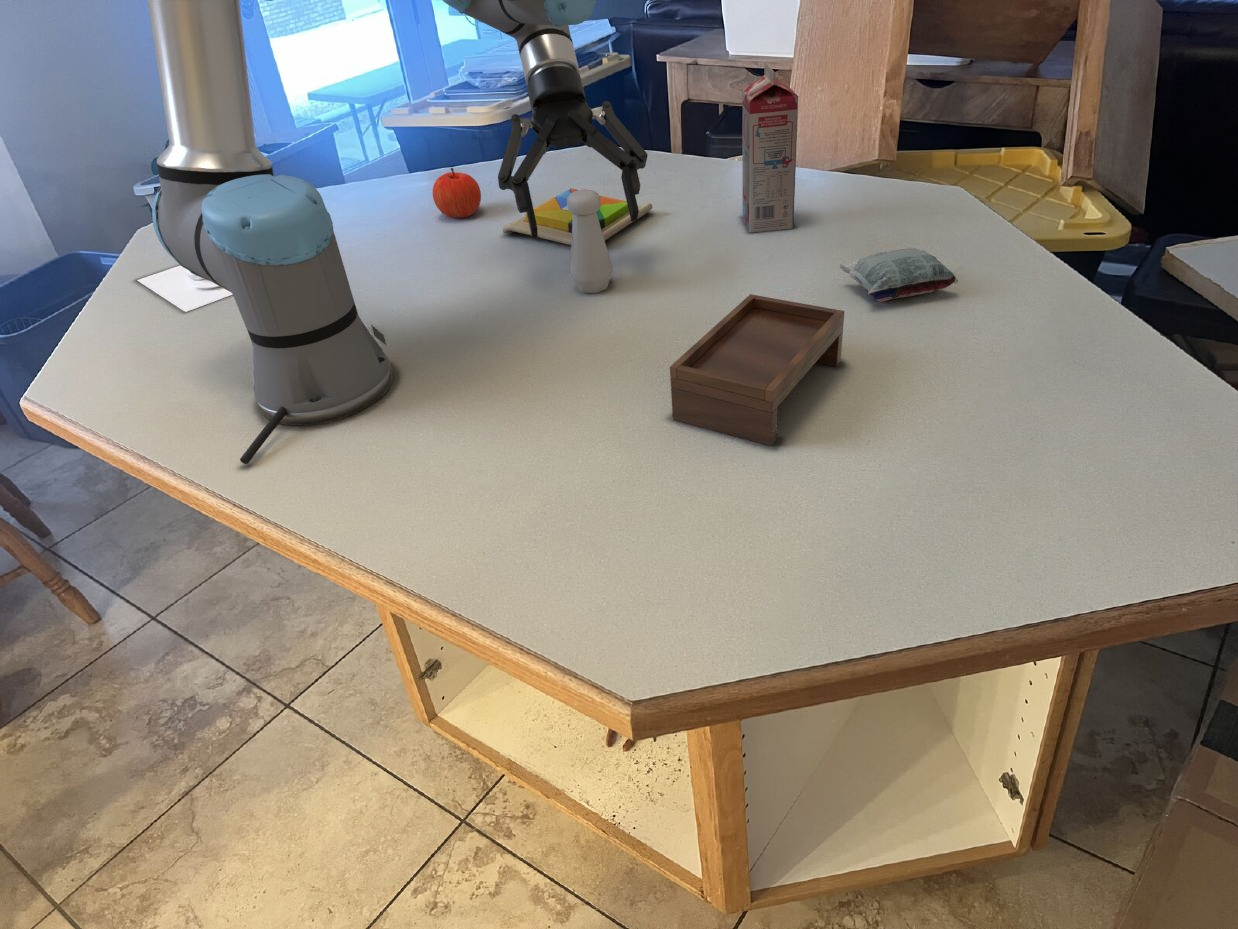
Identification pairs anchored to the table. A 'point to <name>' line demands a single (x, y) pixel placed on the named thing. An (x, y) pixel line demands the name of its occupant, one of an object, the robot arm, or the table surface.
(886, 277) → the packaged food
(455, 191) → the apple
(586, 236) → the salt shaker
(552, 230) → the wooden puzzle
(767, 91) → the juice carton
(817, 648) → the table surface
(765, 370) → the spice rack
